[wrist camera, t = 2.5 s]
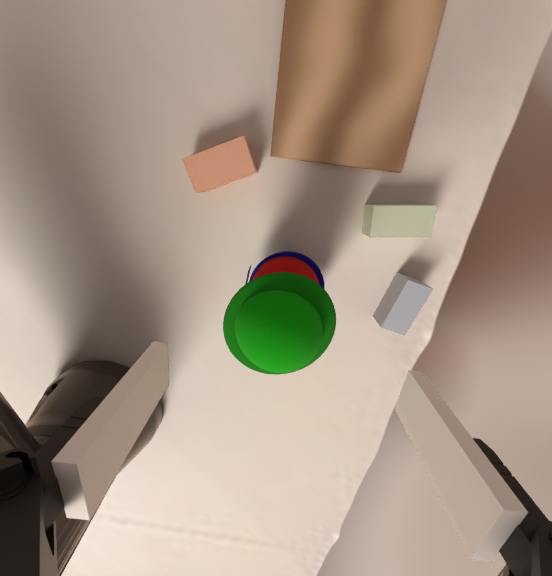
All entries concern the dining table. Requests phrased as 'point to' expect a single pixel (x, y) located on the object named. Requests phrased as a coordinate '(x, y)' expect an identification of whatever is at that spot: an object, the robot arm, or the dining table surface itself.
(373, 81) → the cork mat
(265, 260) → the toy
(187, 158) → the terracotta brick
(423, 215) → the sage brick
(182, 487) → the dining table surface
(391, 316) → the slate brick
